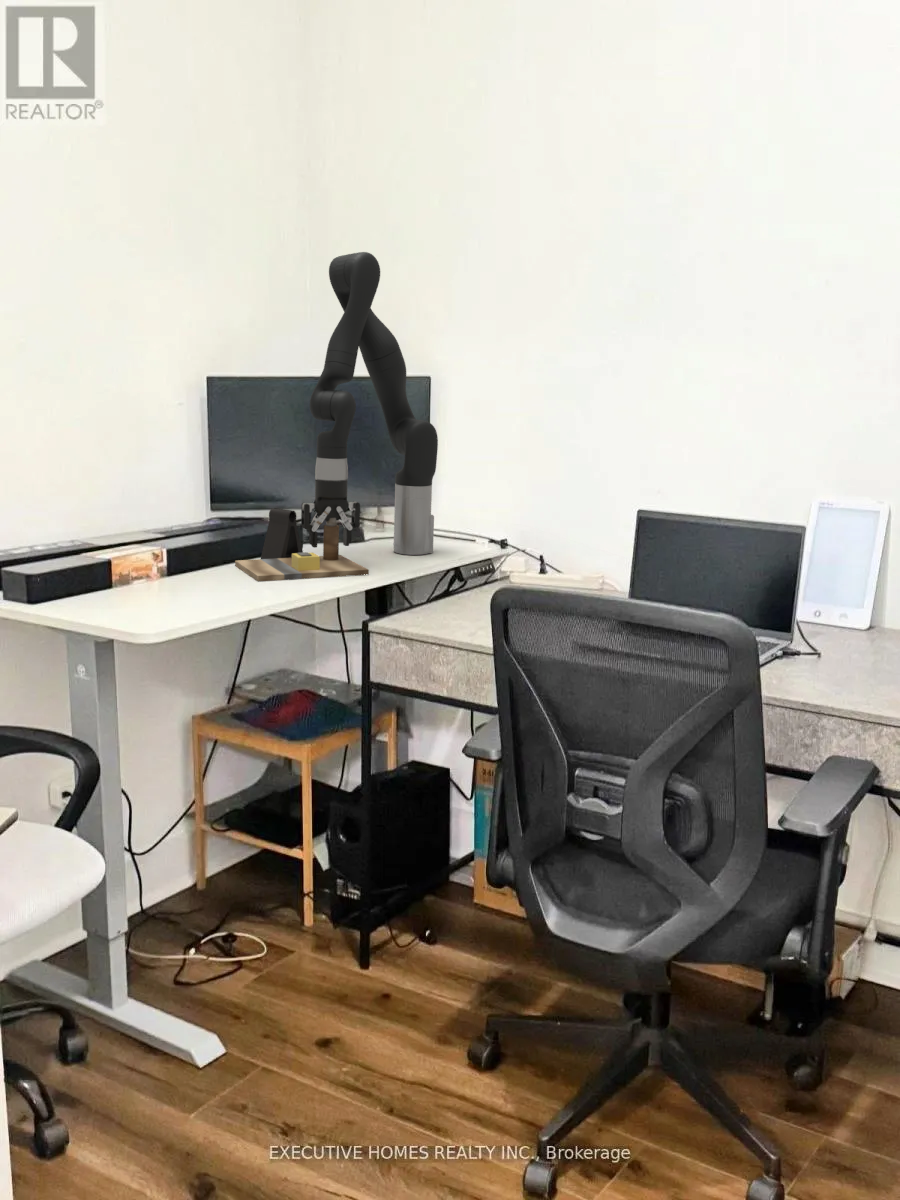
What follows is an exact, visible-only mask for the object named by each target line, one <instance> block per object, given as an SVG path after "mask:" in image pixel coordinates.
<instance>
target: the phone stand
mask: <svg viewBox="0 0 900 1200" xmlns="http://www.w3.org/2000/svg"><path fill="white" fill-rule="evenodd" d="M268 520H269V521H268V525H267V529H266V534H265V537H264V542H263V547H262V550H261V554H260V555H261V556H260V559H275V558H292V553H302V552H304V550H303V546H302V542H301V537H300V534H299V533H300V532H299V530H298V525H297V513H296V511H295V510H292V509H291V510H290V509H286V508H285V509H283V508H276V507H274V508H270V509H269V513H268Z"/></svg>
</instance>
